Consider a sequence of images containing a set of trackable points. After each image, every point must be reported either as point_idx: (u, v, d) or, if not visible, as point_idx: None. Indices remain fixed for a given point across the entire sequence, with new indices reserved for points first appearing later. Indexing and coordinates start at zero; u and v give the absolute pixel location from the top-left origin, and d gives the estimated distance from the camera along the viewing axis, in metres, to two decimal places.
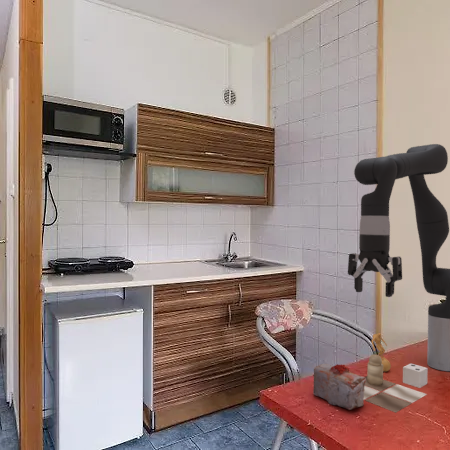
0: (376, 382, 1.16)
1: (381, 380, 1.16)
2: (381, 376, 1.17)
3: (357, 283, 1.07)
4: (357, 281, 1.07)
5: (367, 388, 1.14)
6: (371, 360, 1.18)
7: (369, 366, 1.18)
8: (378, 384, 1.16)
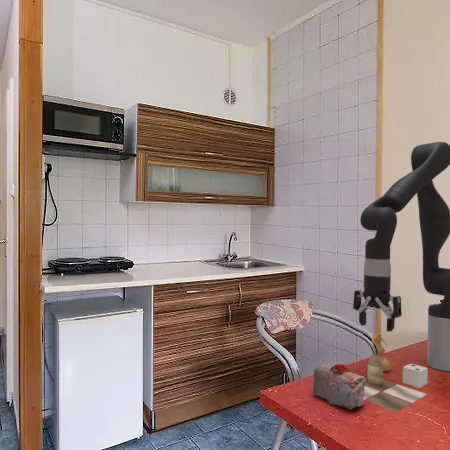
0: (376, 382, 1.16)
1: (381, 380, 1.16)
2: (381, 376, 1.17)
3: (361, 317, 1.21)
4: (361, 315, 1.21)
5: (367, 388, 1.14)
6: (371, 360, 1.18)
7: (369, 366, 1.18)
8: (378, 384, 1.16)
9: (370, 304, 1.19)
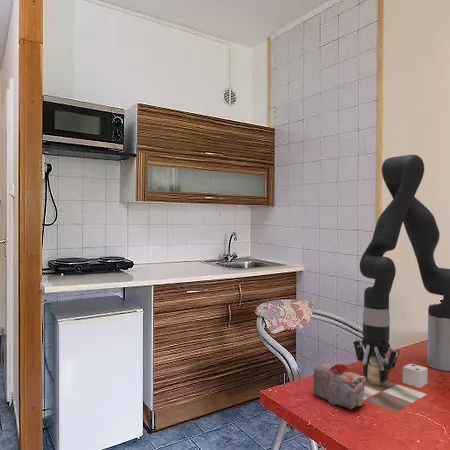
0: (376, 382, 1.16)
1: None
2: None
3: (366, 369, 1.20)
4: (366, 367, 1.20)
5: (367, 388, 1.14)
6: (371, 360, 1.18)
7: (369, 366, 1.18)
8: (378, 384, 1.16)
9: (371, 353, 1.18)
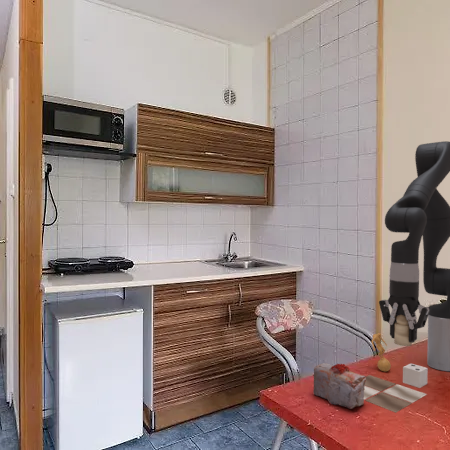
0: (405, 343, 1.08)
1: None
2: None
3: (393, 330, 1.11)
4: (393, 328, 1.11)
5: (367, 388, 1.14)
6: (399, 319, 1.09)
7: (397, 325, 1.10)
8: (407, 344, 1.08)
9: (399, 311, 1.10)
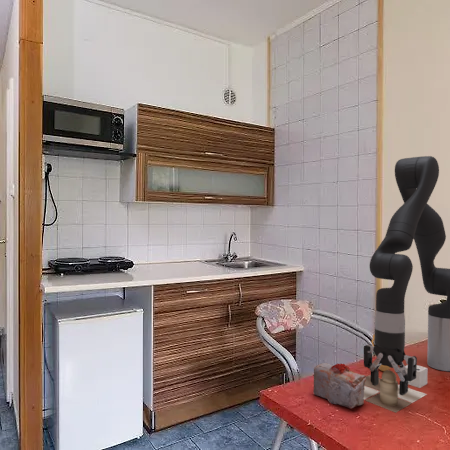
0: (391, 402, 1.03)
1: (395, 400, 1.04)
2: (396, 395, 1.04)
3: (373, 377, 1.08)
4: (373, 375, 1.08)
5: (367, 388, 1.14)
6: (384, 377, 1.05)
7: (382, 383, 1.05)
8: (392, 404, 1.03)
9: (382, 362, 1.06)
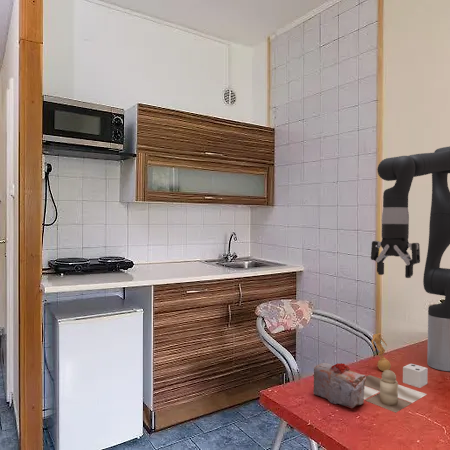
0: (391, 402, 1.03)
1: (396, 399, 1.04)
2: (396, 394, 1.04)
3: (379, 267, 1.22)
4: (379, 265, 1.22)
5: (367, 388, 1.14)
6: (384, 376, 1.05)
7: (382, 383, 1.05)
8: (393, 404, 1.03)
9: (388, 253, 1.20)
